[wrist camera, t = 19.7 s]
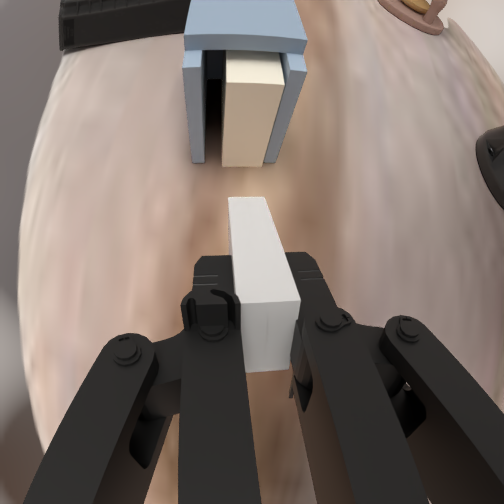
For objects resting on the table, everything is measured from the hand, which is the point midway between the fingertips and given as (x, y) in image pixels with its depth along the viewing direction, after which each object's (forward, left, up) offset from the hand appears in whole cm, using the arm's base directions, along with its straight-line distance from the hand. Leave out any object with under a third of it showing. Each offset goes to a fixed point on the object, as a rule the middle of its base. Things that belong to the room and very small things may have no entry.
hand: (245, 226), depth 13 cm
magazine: (+37, -9, -15) cm, 41 cm away
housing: (+16, -10, -14) cm, 24 cm away
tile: (+15, -10, -14) cm, 23 cm away
